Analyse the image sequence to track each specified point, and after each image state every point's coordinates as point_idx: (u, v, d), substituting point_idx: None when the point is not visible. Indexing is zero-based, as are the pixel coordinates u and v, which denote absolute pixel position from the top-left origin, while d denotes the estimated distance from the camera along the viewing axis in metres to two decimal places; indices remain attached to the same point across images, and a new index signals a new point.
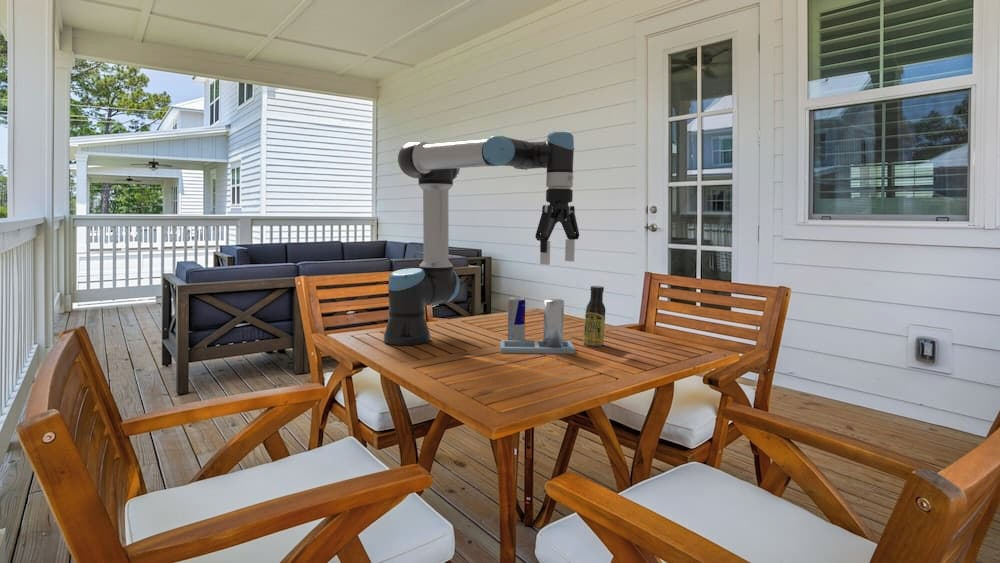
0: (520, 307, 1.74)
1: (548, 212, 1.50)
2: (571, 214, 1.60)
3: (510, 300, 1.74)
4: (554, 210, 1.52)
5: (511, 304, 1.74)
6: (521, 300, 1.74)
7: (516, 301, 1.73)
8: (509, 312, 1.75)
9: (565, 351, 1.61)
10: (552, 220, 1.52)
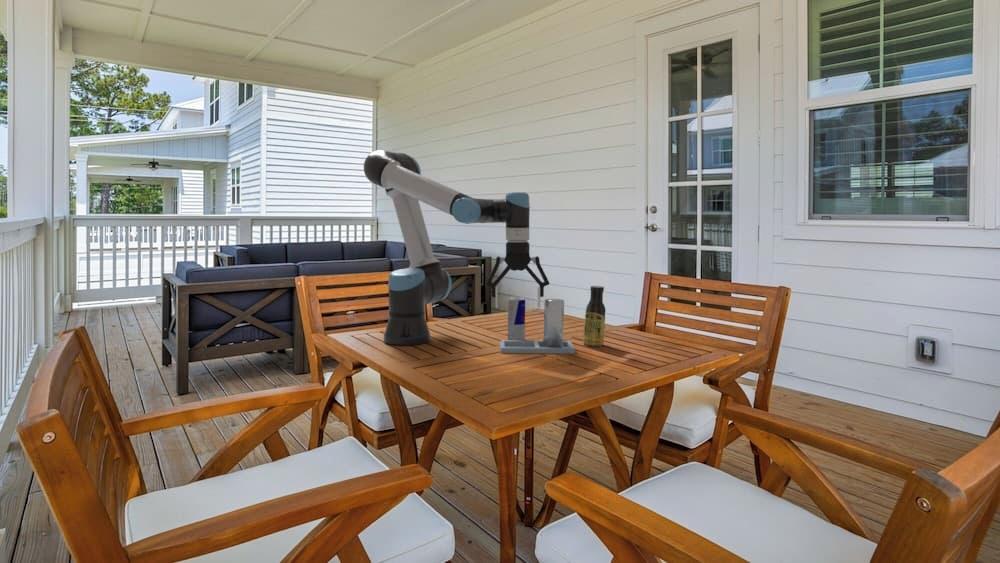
0: (520, 307, 1.74)
1: None
2: (536, 264, 1.74)
3: (510, 300, 1.74)
4: (505, 261, 1.74)
5: (511, 304, 1.74)
6: (521, 300, 1.74)
7: (516, 301, 1.73)
8: (509, 312, 1.75)
9: (565, 351, 1.61)
10: (504, 269, 1.74)
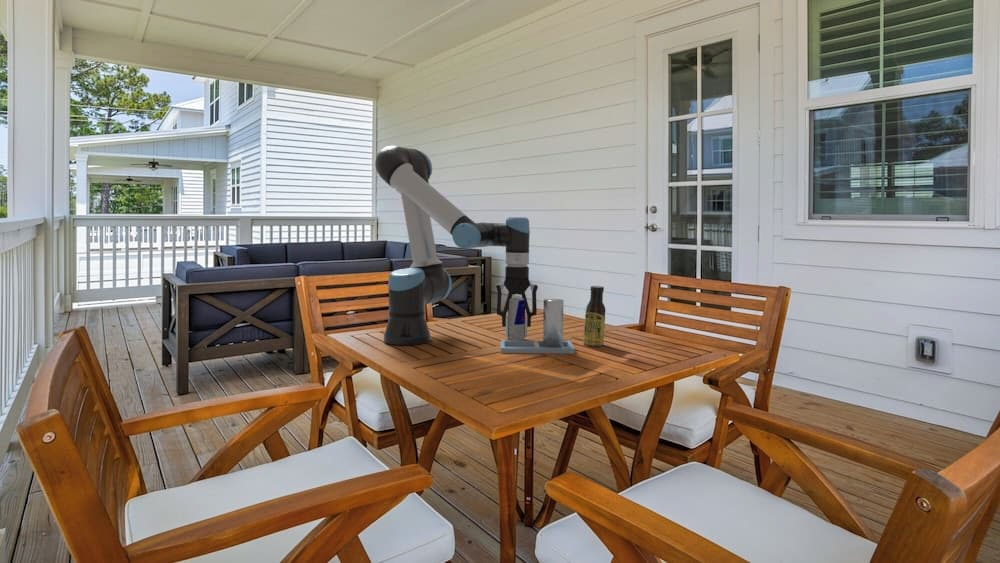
0: (520, 307, 1.74)
1: None
2: (532, 291, 1.75)
3: (510, 300, 1.74)
4: (505, 286, 1.75)
5: (511, 304, 1.74)
6: (521, 300, 1.74)
7: (516, 301, 1.74)
8: (509, 312, 1.75)
9: (565, 351, 1.61)
10: (507, 296, 1.75)
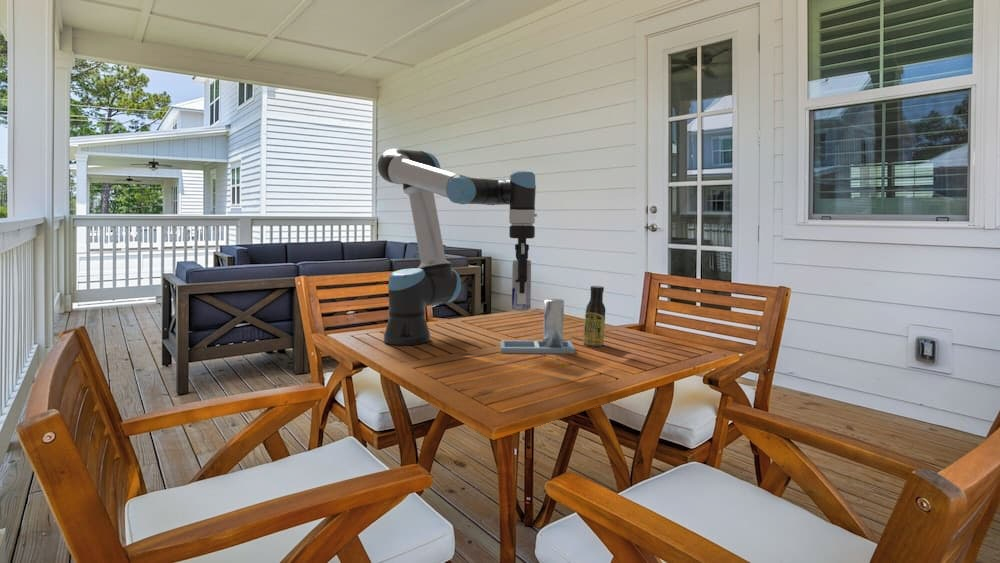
0: None
1: (526, 254, 1.56)
2: None
3: (527, 262, 1.60)
4: None
5: (529, 266, 1.61)
6: None
7: (530, 262, 1.62)
8: (527, 276, 1.61)
9: (565, 351, 1.61)
10: None
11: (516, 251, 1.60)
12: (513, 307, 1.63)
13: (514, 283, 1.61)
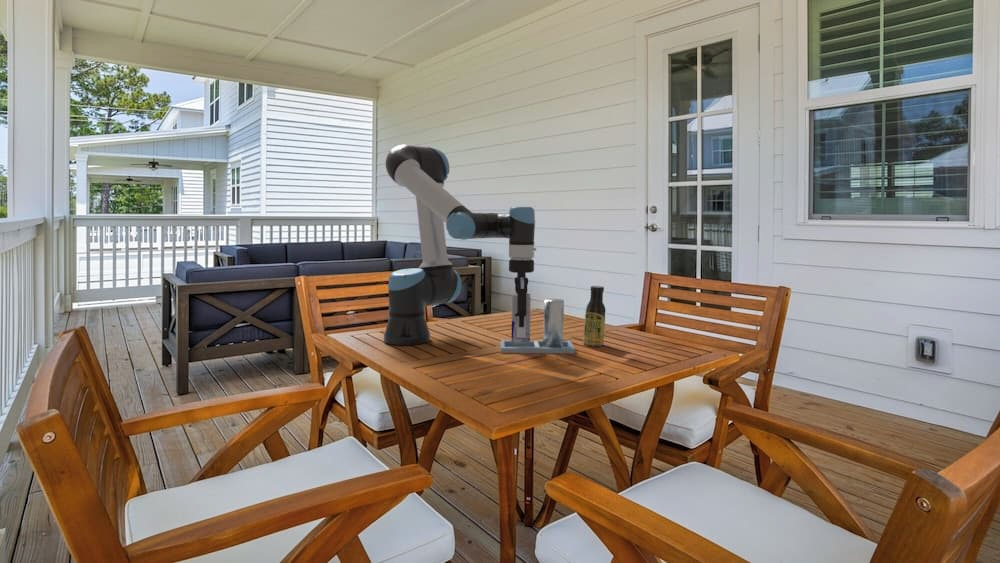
0: None
1: (525, 289, 1.57)
2: None
3: (527, 296, 1.62)
4: (524, 282, 1.60)
5: (528, 300, 1.62)
6: None
7: None
8: (526, 310, 1.62)
9: (565, 351, 1.61)
10: None
11: (515, 285, 1.61)
12: (513, 340, 1.64)
13: (514, 316, 1.63)
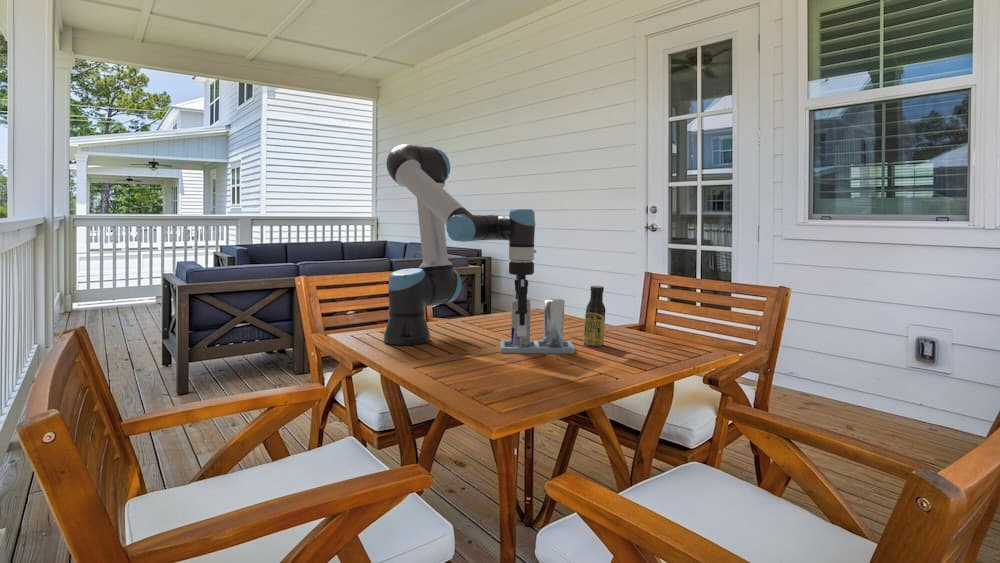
0: None
1: (525, 286, 1.56)
2: None
3: (527, 303, 1.62)
4: None
5: (528, 307, 1.62)
6: None
7: None
8: None
9: (565, 351, 1.61)
10: None
11: (516, 286, 1.61)
12: (512, 346, 1.64)
13: (513, 323, 1.63)
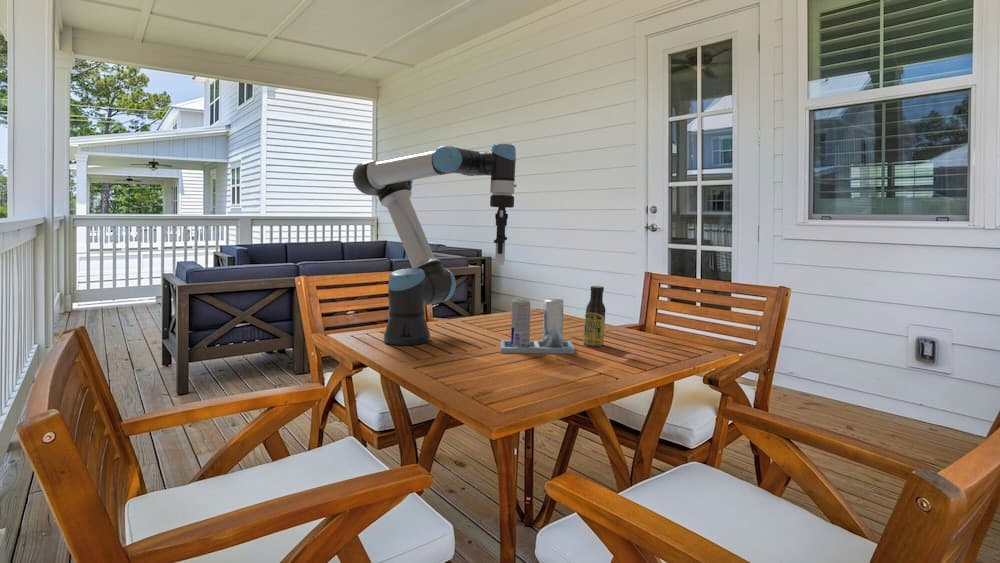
0: None
1: (504, 217, 1.65)
2: None
3: (526, 303, 1.62)
4: None
5: (528, 307, 1.62)
6: None
7: None
8: (526, 316, 1.62)
9: (565, 351, 1.61)
10: None
11: (496, 217, 1.69)
12: (512, 346, 1.64)
13: (513, 323, 1.63)
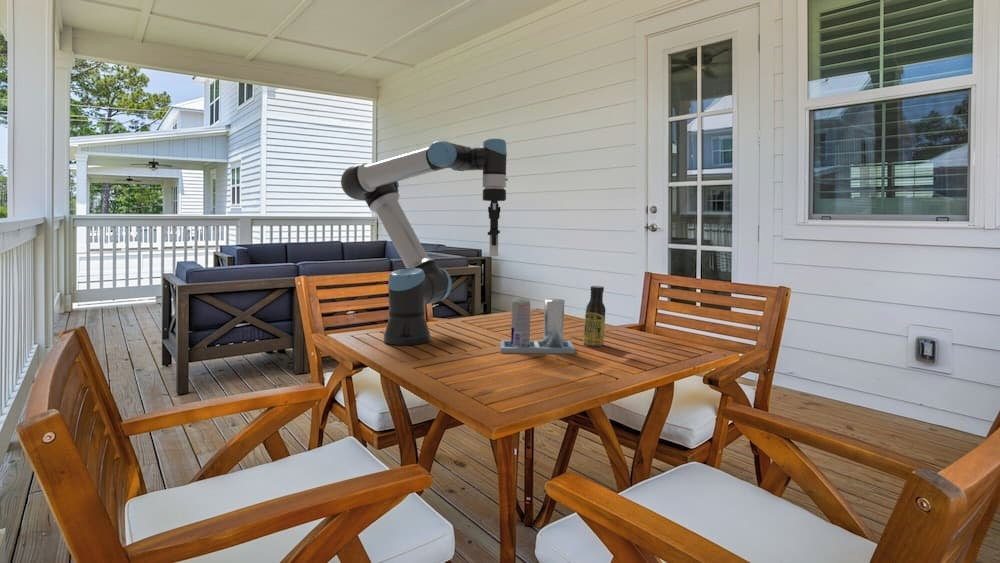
0: None
1: (497, 209, 1.69)
2: None
3: (526, 303, 1.62)
4: None
5: (528, 307, 1.62)
6: None
7: (529, 302, 1.64)
8: (526, 316, 1.62)
9: (565, 351, 1.61)
10: None
11: (488, 210, 1.73)
12: (512, 346, 1.64)
13: (513, 323, 1.63)
